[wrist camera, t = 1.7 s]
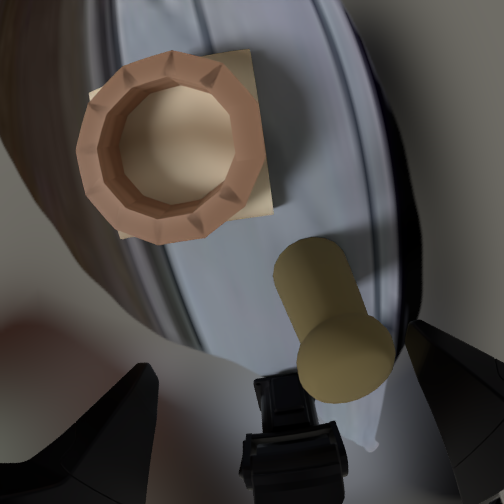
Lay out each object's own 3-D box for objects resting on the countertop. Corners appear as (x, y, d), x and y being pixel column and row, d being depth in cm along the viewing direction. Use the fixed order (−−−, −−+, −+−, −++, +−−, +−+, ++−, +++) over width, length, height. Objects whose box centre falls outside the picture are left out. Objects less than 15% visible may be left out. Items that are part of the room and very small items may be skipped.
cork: (286, 228, 19) (325, 334, 9) (358, 246, 20) (433, 342, 10) (264, 297, 22) (276, 417, 12) (331, 309, 22) (372, 415, 12)
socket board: (272, 209, 19) (279, 230, 15) (126, 233, 19) (102, 257, 15) (249, 53, 14) (250, 32, 10) (97, 94, 14) (64, 89, 11)
